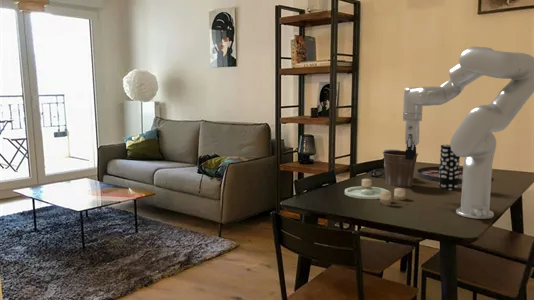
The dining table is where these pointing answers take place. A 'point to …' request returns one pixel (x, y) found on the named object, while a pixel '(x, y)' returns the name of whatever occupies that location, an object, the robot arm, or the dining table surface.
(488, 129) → the robot arm
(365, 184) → the bead
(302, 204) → the dining table surface
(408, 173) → the plant pot
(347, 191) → the pale green faceted plate
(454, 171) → the white-spotted black cylinder
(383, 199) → the brown egg
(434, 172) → the palette wheel
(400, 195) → the tan egg
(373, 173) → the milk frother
